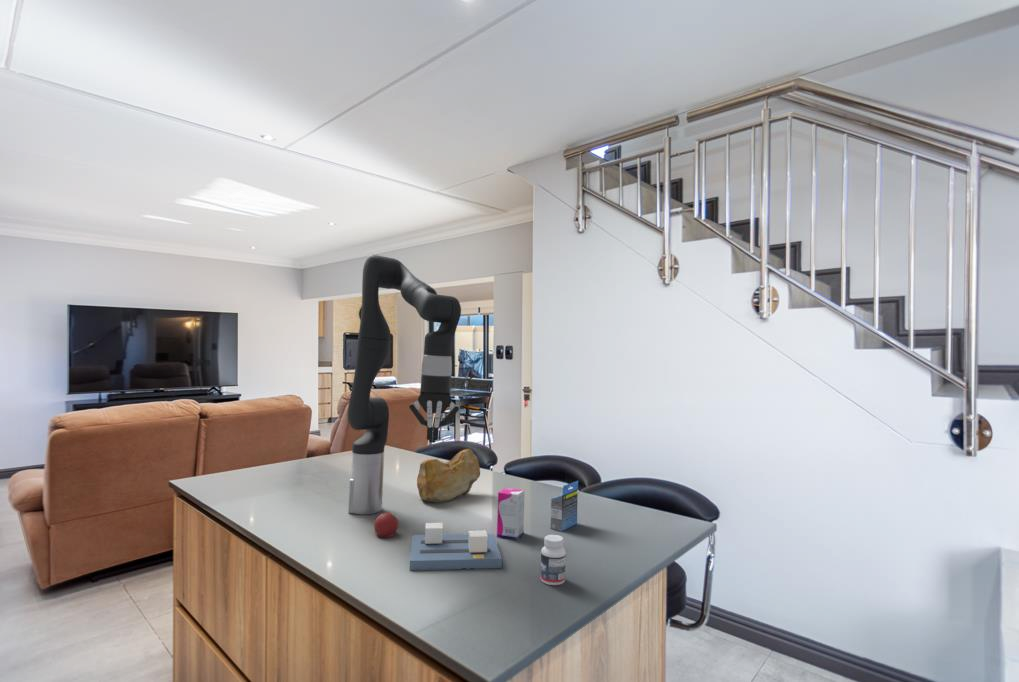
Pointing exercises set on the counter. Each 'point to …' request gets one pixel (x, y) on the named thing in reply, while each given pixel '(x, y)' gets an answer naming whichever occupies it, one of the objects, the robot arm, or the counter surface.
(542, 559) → the pill bottle
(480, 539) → the near tab
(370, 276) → the robot arm
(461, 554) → the switch panel
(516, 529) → the supplement box
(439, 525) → the far tab
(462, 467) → the stone
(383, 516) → the red bulb syringe
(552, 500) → the label tape cartridge
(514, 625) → the counter surface
